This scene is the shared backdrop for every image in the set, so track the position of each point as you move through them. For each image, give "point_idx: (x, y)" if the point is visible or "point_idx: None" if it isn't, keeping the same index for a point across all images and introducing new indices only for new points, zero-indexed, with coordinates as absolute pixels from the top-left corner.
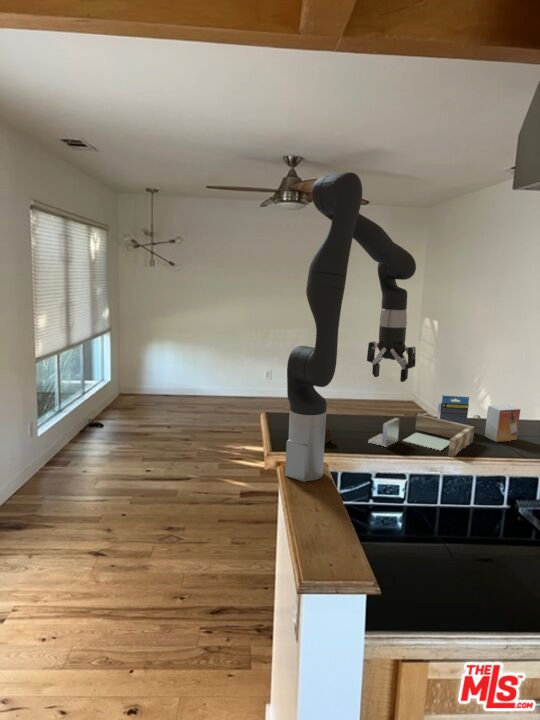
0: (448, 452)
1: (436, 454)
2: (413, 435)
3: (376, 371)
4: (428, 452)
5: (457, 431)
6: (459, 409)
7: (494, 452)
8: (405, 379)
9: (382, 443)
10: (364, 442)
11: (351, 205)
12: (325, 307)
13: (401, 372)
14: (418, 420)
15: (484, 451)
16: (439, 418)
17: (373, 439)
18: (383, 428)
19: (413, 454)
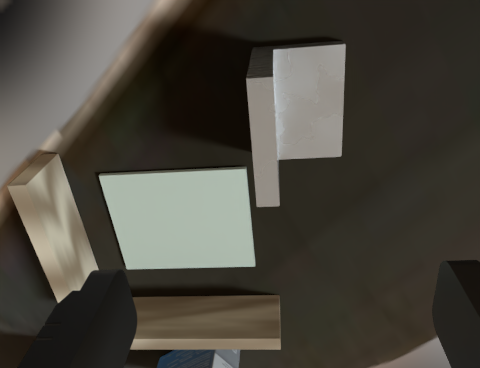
0: (52, 159)
1: (89, 137)
2: (245, 236)
3: (472, 321)
4: (118, 134)
5: None
6: None
7: (9, 273)
8: (67, 304)
9: (270, 50)
10: (361, 37)
11: None
12: None
13: (63, 354)
14: (270, 322)
15: (28, 263)
16: (216, 363)
17: (329, 68)
18: (270, 69)
19: (137, 72)
